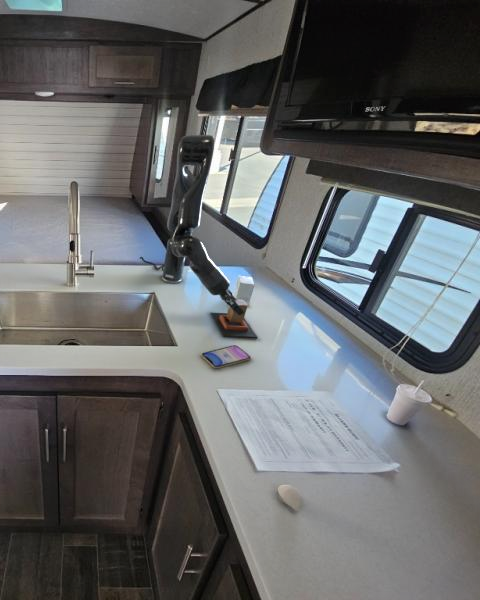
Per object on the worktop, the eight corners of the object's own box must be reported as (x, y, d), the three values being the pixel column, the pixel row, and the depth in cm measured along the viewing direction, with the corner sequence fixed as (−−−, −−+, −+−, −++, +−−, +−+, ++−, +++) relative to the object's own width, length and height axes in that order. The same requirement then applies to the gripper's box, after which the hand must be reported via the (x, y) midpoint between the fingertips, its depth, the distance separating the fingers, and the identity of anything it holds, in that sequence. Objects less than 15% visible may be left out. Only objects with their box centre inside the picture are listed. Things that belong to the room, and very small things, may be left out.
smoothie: (378, 419, 84) (405, 379, 78) (381, 406, 88) (407, 367, 82) (411, 434, 80) (442, 393, 74) (412, 419, 84) (442, 379, 78)
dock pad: (210, 314, 130) (211, 309, 129) (240, 315, 129) (242, 311, 128) (223, 337, 116) (224, 332, 115) (257, 339, 115) (258, 334, 114)
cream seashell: (293, 489, 68) (297, 482, 66) (306, 515, 63) (311, 507, 62) (272, 488, 68) (276, 481, 67) (284, 513, 63) (288, 506, 62)
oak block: (226, 315, 123) (231, 298, 119) (238, 316, 123) (243, 299, 119) (230, 322, 119) (235, 304, 116) (242, 322, 119) (247, 305, 115)
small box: (248, 307, 135) (255, 284, 130) (233, 304, 137) (240, 282, 132) (246, 298, 142) (252, 277, 137) (232, 296, 144) (238, 275, 138)
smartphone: (252, 359, 105) (253, 357, 104) (214, 370, 100) (215, 367, 100) (235, 346, 111) (235, 344, 110) (199, 355, 106) (199, 353, 106)
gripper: (229, 281, 106) (256, 314, 111) (216, 265, 119) (241, 295, 124) (209, 295, 109) (236, 326, 114) (199, 277, 122) (223, 306, 127)
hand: (238, 310), depth 119 cm, fingers closed on oak block, 4 cm apart
